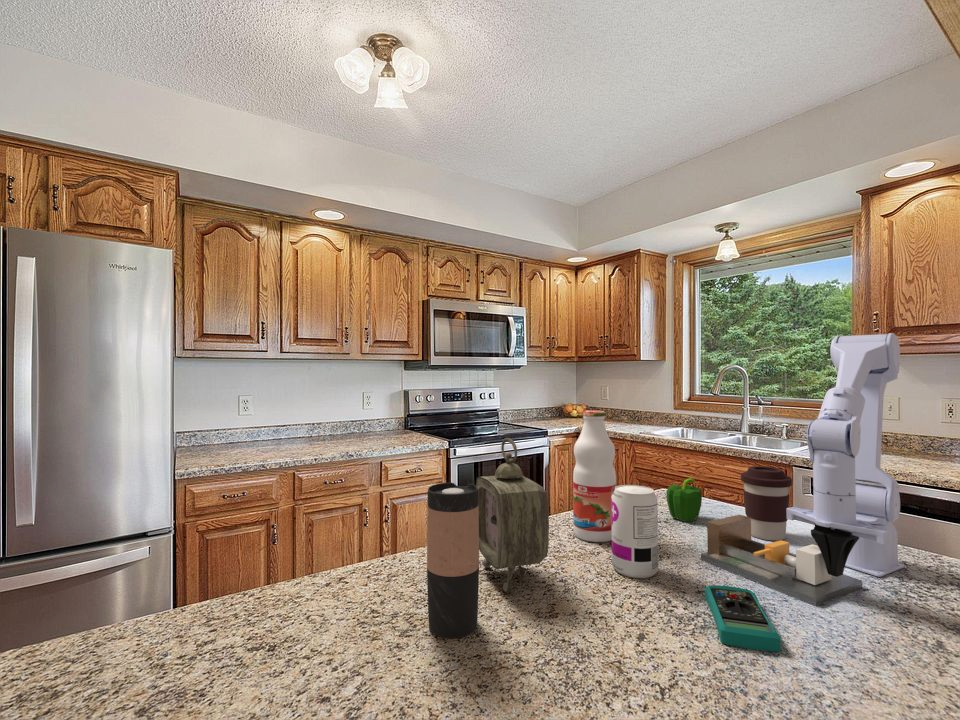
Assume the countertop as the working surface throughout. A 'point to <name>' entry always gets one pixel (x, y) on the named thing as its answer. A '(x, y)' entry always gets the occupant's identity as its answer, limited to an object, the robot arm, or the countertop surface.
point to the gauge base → (765, 563)
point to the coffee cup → (766, 501)
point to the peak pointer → (775, 551)
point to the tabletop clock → (512, 519)
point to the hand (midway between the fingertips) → (835, 574)
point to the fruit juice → (593, 480)
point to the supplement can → (634, 531)
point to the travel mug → (452, 559)
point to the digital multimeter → (741, 619)
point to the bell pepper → (684, 501)
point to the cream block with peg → (809, 565)
